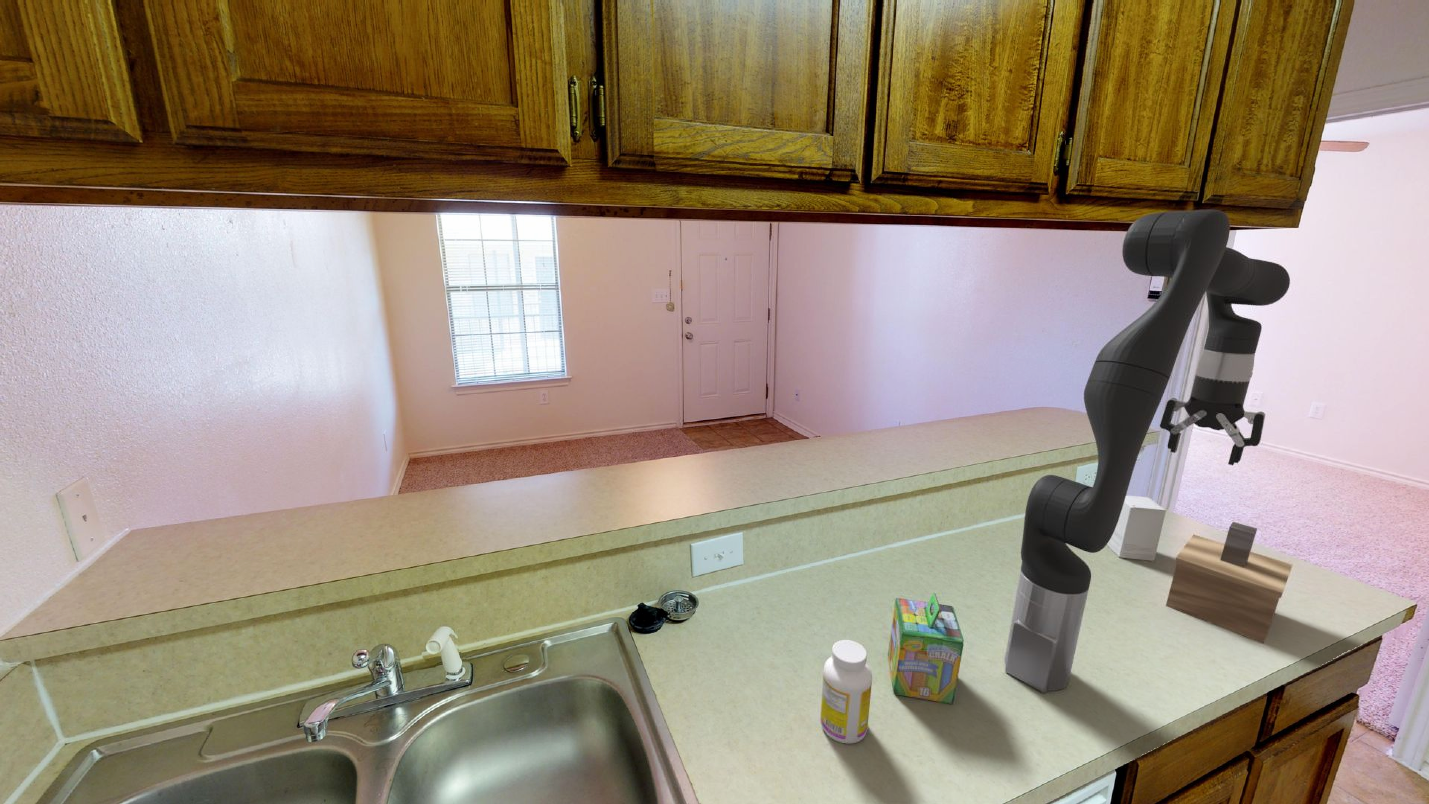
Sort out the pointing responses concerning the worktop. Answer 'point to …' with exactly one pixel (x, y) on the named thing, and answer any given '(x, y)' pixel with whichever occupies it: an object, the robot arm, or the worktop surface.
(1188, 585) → the box
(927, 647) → the chalk box
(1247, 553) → the lid
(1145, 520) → the supplement box
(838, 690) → the supplement bottle
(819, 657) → the worktop surface
